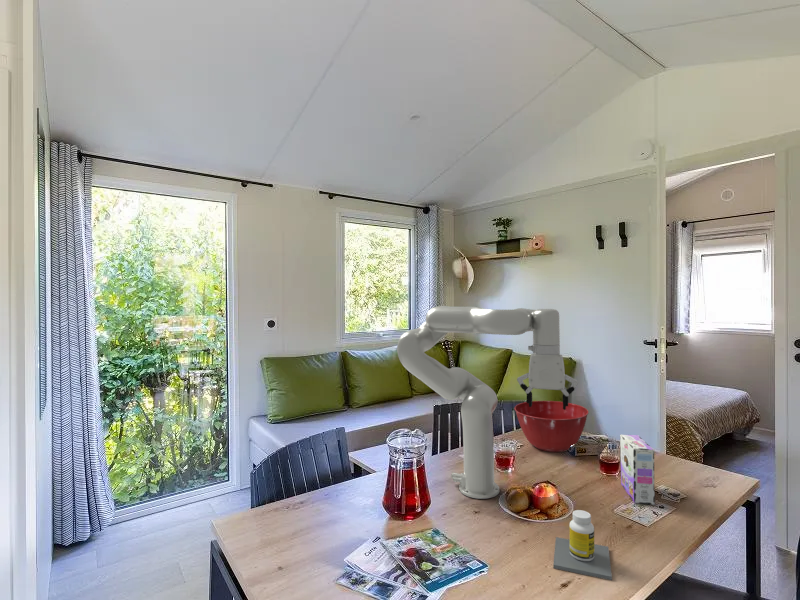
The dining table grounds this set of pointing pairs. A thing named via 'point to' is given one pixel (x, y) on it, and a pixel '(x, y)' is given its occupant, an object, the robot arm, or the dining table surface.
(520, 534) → the dining table surface
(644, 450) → the candy box
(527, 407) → the mixing bowl
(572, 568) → the slate coaster
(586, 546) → the supplement bottle
